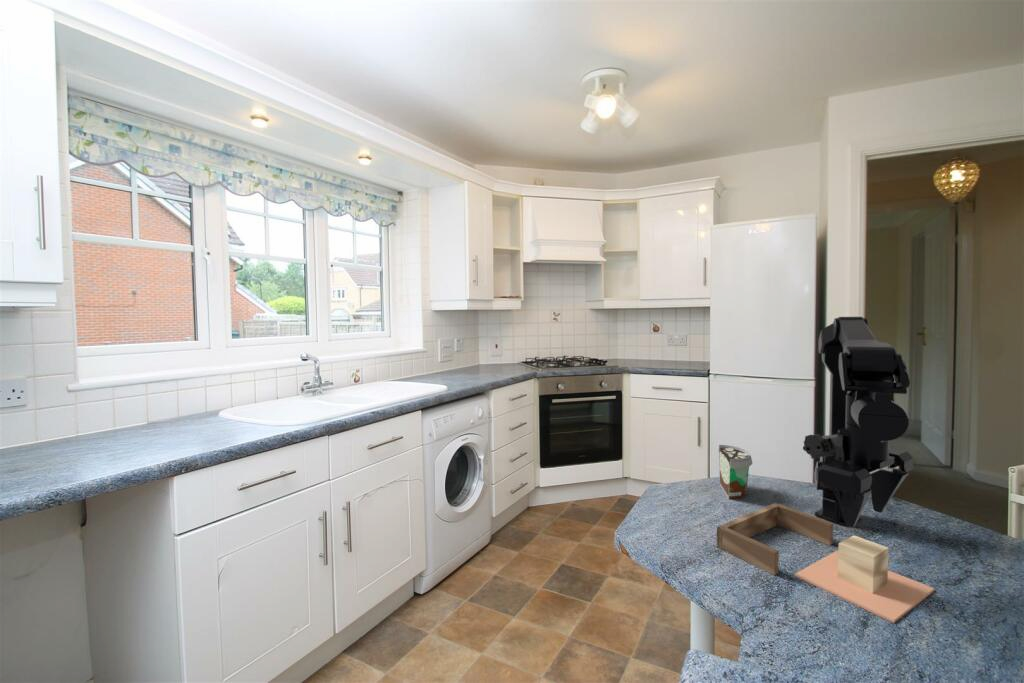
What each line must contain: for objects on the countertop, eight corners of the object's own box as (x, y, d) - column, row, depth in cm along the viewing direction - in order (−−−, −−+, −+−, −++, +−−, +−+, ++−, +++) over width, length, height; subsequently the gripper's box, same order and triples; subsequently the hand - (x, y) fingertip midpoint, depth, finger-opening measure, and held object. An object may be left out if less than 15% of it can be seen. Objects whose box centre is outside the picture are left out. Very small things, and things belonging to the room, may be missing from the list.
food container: (758, 503, 109) (759, 460, 108) (730, 501, 110) (730, 459, 109) (744, 483, 121) (744, 444, 120) (718, 481, 122) (718, 444, 121)
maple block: (852, 568, 81) (853, 535, 81) (887, 583, 77) (888, 547, 76) (837, 578, 79) (838, 543, 78) (872, 593, 74) (873, 557, 74)
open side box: (775, 521, 100) (775, 502, 100) (833, 543, 90) (833, 523, 90) (716, 547, 90) (716, 526, 90) (774, 575, 81) (774, 552, 80)
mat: (837, 552, 87) (837, 550, 87) (933, 590, 75) (934, 588, 75) (794, 576, 80) (794, 573, 80) (893, 622, 68) (893, 620, 68)
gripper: (841, 407, 87) (839, 489, 88) (783, 422, 78) (781, 514, 79) (916, 419, 78) (912, 511, 79) (860, 438, 68) (857, 542, 69)
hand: (864, 518), depth 77 cm, fingers open, 9 cm apart
